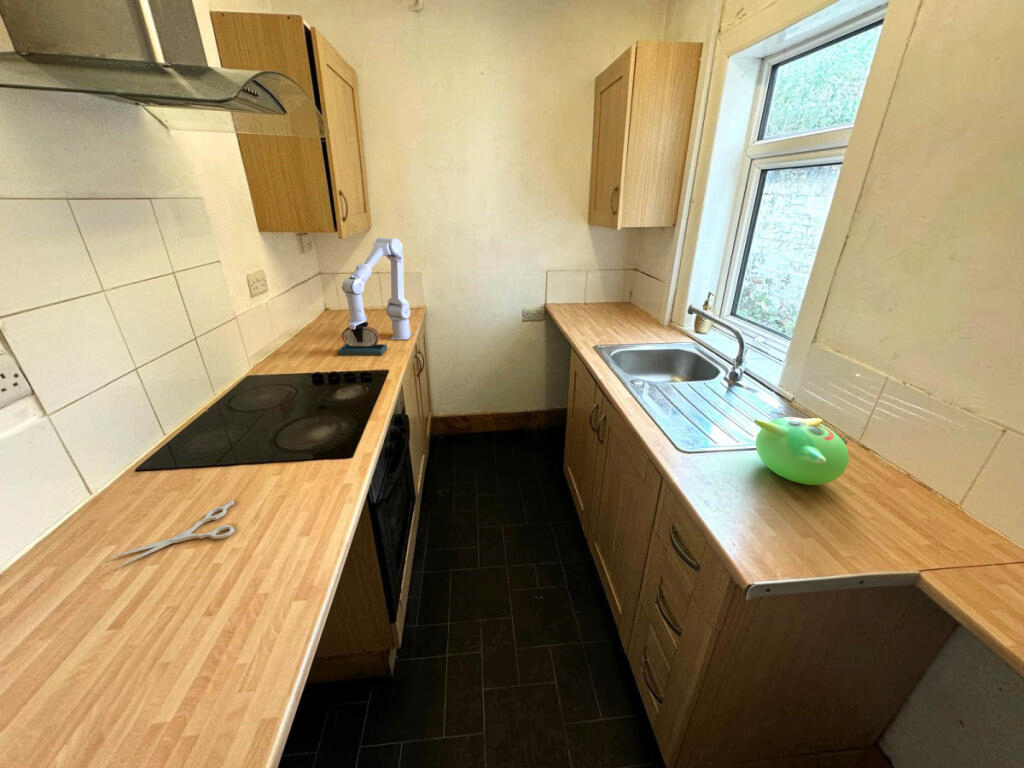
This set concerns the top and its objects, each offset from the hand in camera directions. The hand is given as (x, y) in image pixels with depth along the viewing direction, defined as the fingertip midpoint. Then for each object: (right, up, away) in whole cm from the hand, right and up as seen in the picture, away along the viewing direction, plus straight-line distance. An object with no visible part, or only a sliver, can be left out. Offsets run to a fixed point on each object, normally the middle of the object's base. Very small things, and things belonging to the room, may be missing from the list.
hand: (361, 340), depth 174 cm
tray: (0, -4, +2) cm, 5 cm away
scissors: (-1, -48, -93) cm, 105 cm away
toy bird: (+129, -40, -75) cm, 155 cm away
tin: (0, -2, +1) cm, 3 cm away
